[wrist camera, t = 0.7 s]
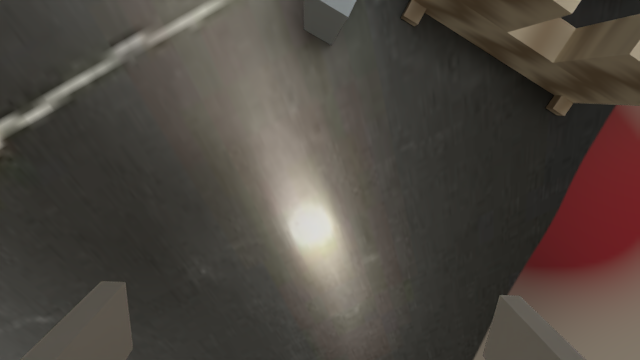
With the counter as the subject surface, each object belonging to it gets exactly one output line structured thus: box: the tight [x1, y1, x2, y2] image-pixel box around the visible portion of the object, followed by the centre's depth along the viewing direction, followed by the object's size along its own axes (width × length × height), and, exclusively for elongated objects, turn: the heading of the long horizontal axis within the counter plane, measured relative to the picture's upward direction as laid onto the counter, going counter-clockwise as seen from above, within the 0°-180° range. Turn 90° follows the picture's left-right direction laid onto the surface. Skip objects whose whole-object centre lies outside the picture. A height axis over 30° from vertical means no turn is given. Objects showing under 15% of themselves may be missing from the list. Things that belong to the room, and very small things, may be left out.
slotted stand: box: [401, 0, 640, 116], centre depth 25 cm, size 20×6×12 cm, turn 62°
